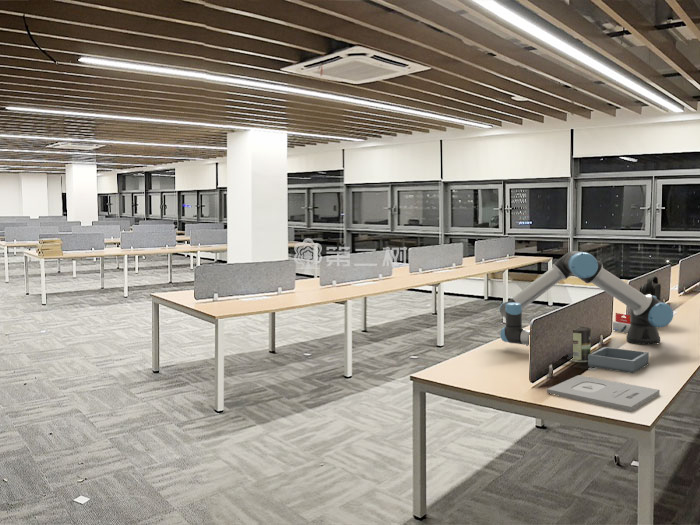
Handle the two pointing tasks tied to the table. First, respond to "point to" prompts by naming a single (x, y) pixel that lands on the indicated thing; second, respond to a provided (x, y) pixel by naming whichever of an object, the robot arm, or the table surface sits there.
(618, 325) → the ink cartridge box
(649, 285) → the shoulder bag
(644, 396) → the award plaque
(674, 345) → the table surface
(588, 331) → the coffee can
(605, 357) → the tray
